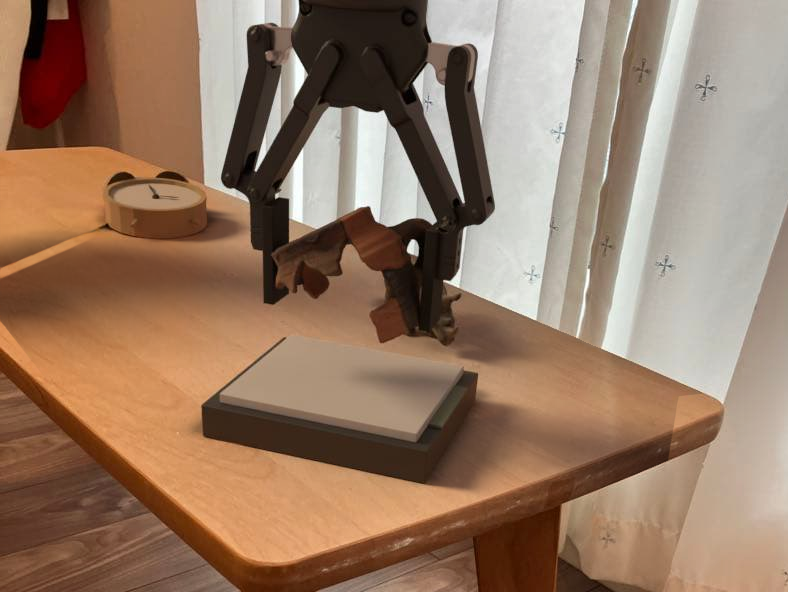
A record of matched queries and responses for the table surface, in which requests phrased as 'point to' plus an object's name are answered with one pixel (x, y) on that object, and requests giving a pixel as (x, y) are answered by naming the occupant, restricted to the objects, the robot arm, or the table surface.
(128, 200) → the alarm clock
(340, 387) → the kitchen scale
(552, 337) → the table surface
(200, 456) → the table surface
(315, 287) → the brown jagged curved piece
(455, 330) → the rhino figurine
